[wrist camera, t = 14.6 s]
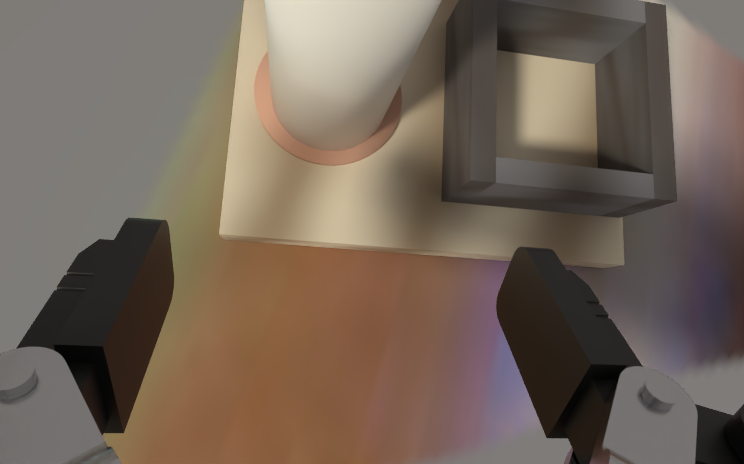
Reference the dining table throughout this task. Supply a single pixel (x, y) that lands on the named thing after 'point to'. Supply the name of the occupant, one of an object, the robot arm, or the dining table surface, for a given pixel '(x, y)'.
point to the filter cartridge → (340, 64)
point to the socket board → (473, 139)
